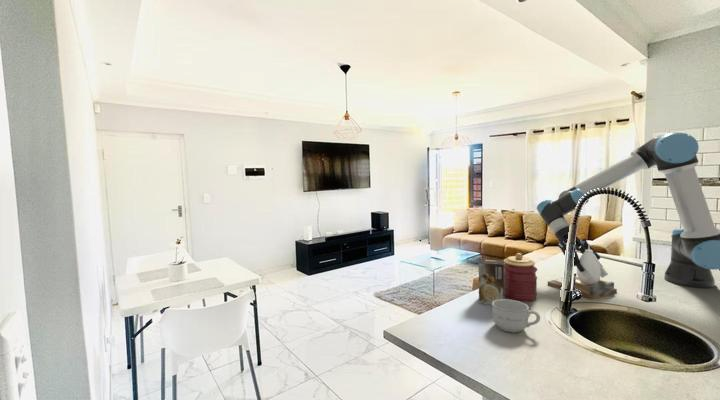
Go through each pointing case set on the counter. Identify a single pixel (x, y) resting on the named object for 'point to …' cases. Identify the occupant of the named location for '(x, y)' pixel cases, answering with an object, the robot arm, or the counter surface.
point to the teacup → (512, 315)
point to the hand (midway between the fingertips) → (597, 277)
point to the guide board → (589, 288)
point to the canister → (520, 278)
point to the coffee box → (491, 280)
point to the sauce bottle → (590, 268)
